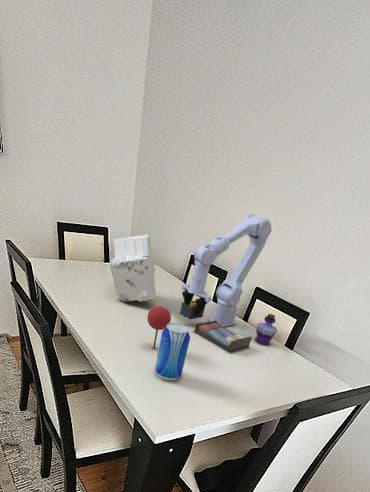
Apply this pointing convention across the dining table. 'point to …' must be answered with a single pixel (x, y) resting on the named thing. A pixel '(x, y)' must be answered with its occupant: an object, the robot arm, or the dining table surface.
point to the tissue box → (133, 268)
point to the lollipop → (158, 319)
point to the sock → (192, 304)
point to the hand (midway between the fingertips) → (191, 312)
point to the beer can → (172, 351)
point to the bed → (222, 336)
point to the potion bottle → (266, 330)
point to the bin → (189, 311)
